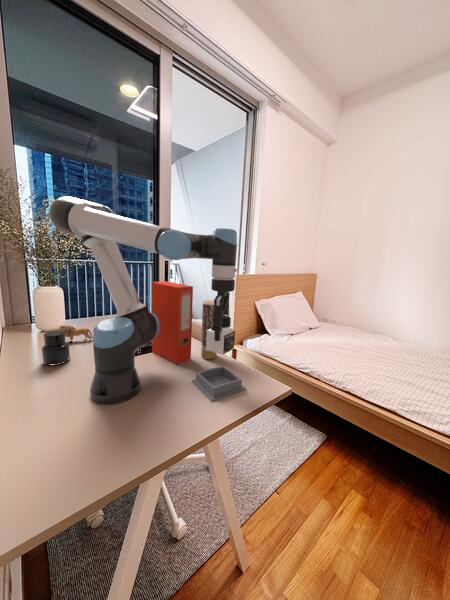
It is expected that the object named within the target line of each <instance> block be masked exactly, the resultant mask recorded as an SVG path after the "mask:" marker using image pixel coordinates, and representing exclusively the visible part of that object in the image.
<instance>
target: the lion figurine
mask: <svg viewBox="0 0 450 600" xmlns="http://www.w3.org/2000/svg"><path fill="white" fill-rule="evenodd" d="M59 330H62V331H64V332H65V338H69V340H73V341H74V337H79V336H81V335H83V336H84V338H87V339H88V340H90V339H93V333H92V332H91V330H90V329H89V328H88V327H81V328H76V327H74V326H72V325H68V324H61V325H60V326H59Z"/></svg>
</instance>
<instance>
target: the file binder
mask: <svg viewBox="0 0 450 600" xmlns="http://www.w3.org/2000/svg"><path fill="white" fill-rule="evenodd" d="M193 293H194V286H192V285H187V284H181V283H177V282H172V281H166V280H165V281H152V282H151V312H152V313H153V314H155V315H156V316H157V318H158V320H159V323H160V329H159V333H158V335H157V336H156V337H155V338H154V339H153V340H152V341H151V348H152V350H151V352H152V353H155V354H156V355H158V356H159V357H162V358H164V359H166V360H168V361H170V362H172V363H174V364H176V365H179V364H182V363H184V362H186V361H190V360H191V358H192V333H193V332H192V331H193V330H192V329H193V302H194V301H193V297H194V296H193V295H194V294H193Z"/></svg>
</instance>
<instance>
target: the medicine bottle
mask: <svg viewBox="0 0 450 600" xmlns="http://www.w3.org/2000/svg"><path fill="white" fill-rule="evenodd" d="M231 321H232V318H231V316H230V315H229V316H228V315H224V316H223V324H222V330H223V332H222V350H214V349H213V338H214V331H212V330H211V329H209V330H207V341H206V350H208V351H212V352H215V353H216V354H218V355H222V356H224V355H226V354H228V353H230V352H231V351H232V350H234V349H235V338H236V329H235V328H231V323H232V322H231ZM212 326H213V324H212Z"/></svg>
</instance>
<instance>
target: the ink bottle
mask: <svg viewBox="0 0 450 600" xmlns="http://www.w3.org/2000/svg"><path fill="white" fill-rule="evenodd" d="M43 341H44V345H43V346H42V347H41V355H42V363H43V362H44V363H46V364H58V363H62V362H65V361H67V360H68V359H69V358H70V359H71V354H70V343H68V342H67V341H66V337H65V332H64V331H62V330H60V329H53V330H50V331H46V332H45V333H43ZM70 359H69V360H70ZM69 360H68V361H69ZM68 361H67V362H68ZM44 363H43V364H44ZM65 363H66V362H65Z"/></svg>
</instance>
